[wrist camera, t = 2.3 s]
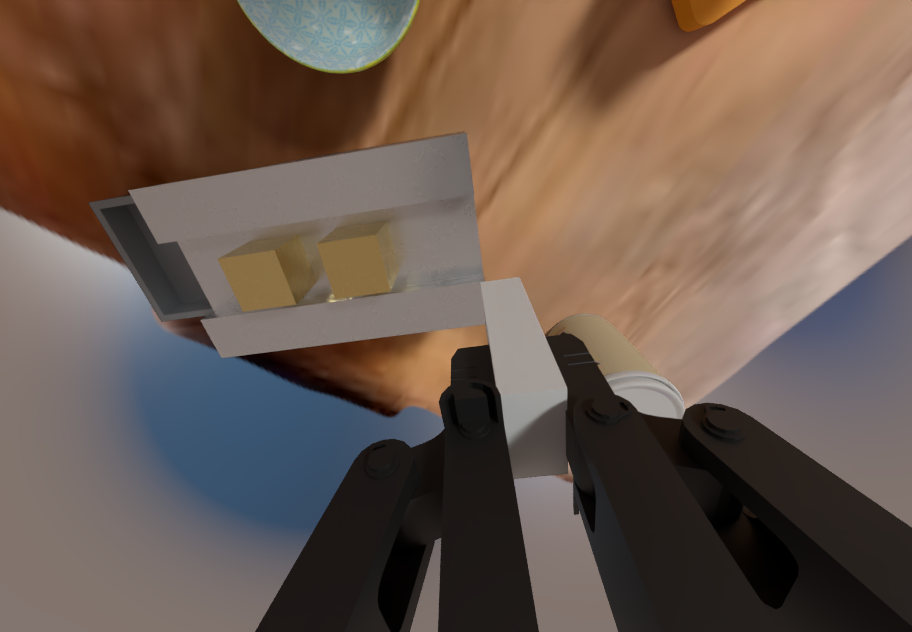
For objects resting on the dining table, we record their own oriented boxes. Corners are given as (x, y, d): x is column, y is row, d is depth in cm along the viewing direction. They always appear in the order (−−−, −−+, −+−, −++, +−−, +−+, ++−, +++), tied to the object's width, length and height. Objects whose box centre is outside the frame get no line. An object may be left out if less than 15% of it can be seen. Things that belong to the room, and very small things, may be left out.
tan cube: (335, 228, 23) (316, 244, 20) (387, 220, 23) (376, 234, 20) (350, 277, 25) (335, 299, 22) (399, 270, 25) (390, 291, 21)
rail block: (230, 171, 30) (128, 190, 21) (463, 131, 29) (466, 133, 19) (283, 298, 36) (221, 358, 26) (481, 270, 34) (489, 323, 25)
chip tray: (119, 196, 31) (88, 202, 28) (249, 174, 30) (229, 179, 27) (183, 307, 36) (161, 321, 33) (295, 291, 35) (282, 304, 33)
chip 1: (248, 241, 24) (217, 258, 21) (298, 234, 23) (274, 250, 20) (269, 289, 25) (242, 311, 22) (316, 282, 25) (296, 304, 22)
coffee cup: (544, 303, 36) (580, 377, 25) (635, 308, 36) (709, 383, 25) (529, 377, 40) (555, 467, 30) (611, 381, 40) (665, 471, 30)
